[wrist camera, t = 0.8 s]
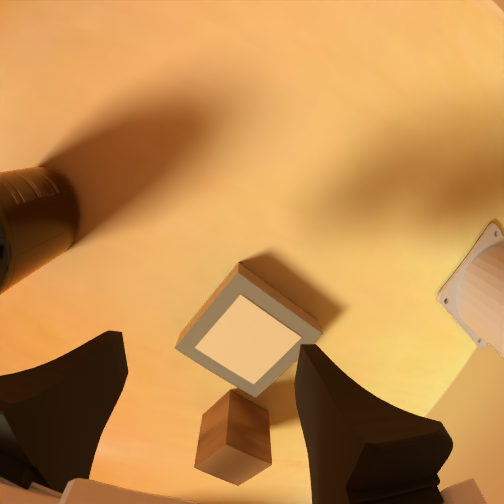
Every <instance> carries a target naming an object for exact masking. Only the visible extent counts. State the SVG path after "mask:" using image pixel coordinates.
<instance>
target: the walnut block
mask: <svg viewBox="0 0 504 504" xmlns="http://www.w3.org/2000/svg"><path fill="white" fill-rule="evenodd" d="M271 465H272V457H271V443H270V429H269V415H268V411H267V410H265V409H264V408H262V407H260V406H258V405H256V404H254V403H253V402H251V401H249V400H247V399H245V398H243V397H242V396H240V395H238V394H236V393H235V392H233V391H231V390H229V391H228V392H227V393H226V394H225V395H224V396H223V397H222V398H221V399H220V400H218V401H217V402H216V403H215V404H214V405H213V406H212V407H211V408H210V409H209V410H208V411H207V412H205V413H204V414H203V415H202V421H201V427H200V434H199V440H198V446H197V453H196V459H195V465H194V468H196V469H198V470H201V471H203V472H205V473H208V474H210V475H212V476H215V477H217V478H220V479H222V480H224V481H227V482H230V483H232V484H235V485H237V486H239V485H240V484H242V483H244V482H245V481H247V480H249V479H250V478H252V477H253V476H255V475H257V474H258V473H260V472H261V471H263V470H264V469H266V468H268V467H269V466H271Z"/></svg>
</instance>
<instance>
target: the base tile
mask: <svg viewBox="0 0 504 504" xmlns="http://www.w3.org/2000/svg"><path fill="white" fill-rule="evenodd" d="M321 335H322V331H321V329H320V326H319V324H318V321H317V320H316V319H315V318H314V317H312V316H311V315H310V314H308V313H307V312H305V311H304V310H303V309H301V308H300V307H299V306H297V305H296V304H295V303H293V302H292V301H291V300H289V299H288V298H286V297H285V296H284V295H282V294H281V293H280V292H278V291H277V290H276V289H274V288H273V287H272V286H270V285H269V284H268V283H266V282H265V281H263V280H262V279H261V278H259V277H258V276H257V275H255V274H254V273H253V272H251V271H250V270H249V269H247V268H246V267H245V266H243V265H242V264H241V263H239V262H238V264H237V265H236V266H235V267H234V268H233V270H232V271H231V272H230V273H229V275H228V276H227V277H226V278H225V279H224V281H223V282H222V283H221V284H220V286H219V287H218V288H217V289H216V290H215V292H214V293H213V294H212V295H211V297H210V298H209V299H208V300H207V301H206V303H205V304H204V305H203V306H202V308H201V309H200V310H199V311H198V312H197V314H196V315H195V316H194V317H193V319H192V320H191V321H190V322H189V323H188V325H187V326H186V327H185V328H184V330H183V331H182V332H181V333H180V335H179V338H178V341H177V344H176V346H175V349H177V350H178V351H180V352H181V353H183V354H184V355H186V356H187V357H189V358H190V359H192V360H193V361H195V362H197V363H198V364H200V365H201V366H203V367H204V368H206V369H208V370H209V371H211V372H213V373H214V374H216V375H217V376H219V377H221V378H222V379H224V380H226V381H227V382H229V383H231V384H233V385H234V386H236V387H238V388H239V389H241V390H243V391H245V392H246V393H248V394H250V395H252V396H253V397H255V398H256V397H257V396H258V395H260V394H261V393H262V392H263V391H264V390H265V389H266V388H267V387H268V386H269V385H271V384H272V383H273V382H274V381H275V380H276V379H277V378H278V377H279V376H280V375H281V374H282V373H283V372H284V371H286V370H287V369H288V368H289V367H290V366H291V365H292V364H293V363H294V362H295V361H296V360H297V359H298V358H299V352H300V345H301V344H313V343H314V342H315V341H316V340H317V339H318V338H319V337H320V336H321Z"/></svg>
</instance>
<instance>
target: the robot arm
mask: <svg viewBox="0 0 504 504" xmlns="http://www.w3.org/2000/svg"><path fill="white" fill-rule="evenodd" d="M495 231H496V233H495ZM494 234H495V235H494ZM446 298H447V300H446V301H445V302H444V300H445V299H446ZM437 301H438V302H439V303H440V304H441V305H442V306H443V307H444V308H445V309H446V310H447V312H448V313H449V314H450V315H451V316H452V317H453V318H454V319H455V320H456V322H457V323H458V324H459V325H460V326H461V327H462V328H463V330H464V331H465V332H466V333H467V334H468V335H469V336H470V338H471V339H472V340H473V341H474V342H475V344H476V345H477V346H478V347H479V348H480V349H484V348H485V347H486V346H487V344H489V345H490V346H491V347H492V348H493V349H494V350H495V351H496V352H497V353H498V354H500V355H501V356H502V357H503V358H504V236H503V234H502V233H501V231H500V229H499V228H498V226H497V225H496V224H495V223H490V224H489V225H488V227H487V228H486V230H485V231H484V233H483V234H482V236H481V237H480V239H479V240H478V241H477V243H476V244H475V246H474V247H473V248H472V250H471V251H470V253H469V254H468V255H467V257H466V258H465V259H464V261H463V262H462V263H461V265H460V266H459V267H458V269H457V270H456V271H455V273H454V274H453V275H452V276H451V278H450V279H449V280H448V281H447V283H446V284H445V285H444V286H443V288H442V289H441V290H440V291H439V293H438V294H437ZM127 375H128V367H127V361H126V355H125V349H124V342H123V336H122V332H117V331H107V332H104V333H102V334H101V335H99V336H97V337H95V338H94V339H92V340H90V341H88V342H87V343H85V344H83V345H81V346H80V347H78V348H76V349H74V350H72V351H70V352H69V353H67V354H65V355H63V356H61V357H59V358H57V359H55V360H52V361H50V362H48V363H45V364H43V365H40V366H37V367H35V368H31V369H28V370H24V371H21V372H17V373H13V374H8V375H2V376H0V504H199V503H197V502H193V501H188V500H184V499H180V498H175V497H168V496H162V495H156V494H150V493H145V492H140V491H135V490H130V489H126V488H121V487H117V486H113V485H109V484H105V483H102V482H98V481H94V480H89V475H90V470H91V467H92V463H93V459H94V455H95V452H96V449H97V446H98V443H99V439H100V436H101V434H102V432H103V429H104V427H105V425H106V423H107V421H108V419H109V417H110V415H111V413H112V411H113V409H114V407H115V405H116V403H117V401H118V399H119V397H120V395H121V393H122V390H123V387H124V384H125V381H126V378H127ZM294 385H295V396H296V405H297V409H298V414H299V418H300V422H301V426H302V430H303V434H304V438H305V442H306V447H307V452H308V459H309V468H310V478H311V490H312V504H487V502H486V501H485V499H484V497H483V495H482V493H481V491H480V490H479V488H478V486H477V484H476V482H475V481H474V479H468V480H466V481H463V482H460V483H458V484H455V485H452V486H450V487H447V488H445V489H444V490H443V491H441V492H439V489H438V487H437V485H439V483H440V479H439V477H438V475H437V473H438V471H439V470H440V469H441V467H442V466H443V464H444V463H445V461H446V460H447V459H448V457H449V455H450V453H451V451H452V448H453V442H452V439H451V437H450V436H449V434H448V432H447V431H446V429H445V427H444V426H443V424H442V423H441V422H439V421H435V420H432V419H428V418H424V417H421V416H417V415H415V414H412V413H409V412H407V411H404V410H402V409H399V408H397V407H395V406H393V405H391V404H389V403H387V402H385V401H383V400H381V399H380V398H378V397H376V396H375V395H373V394H372V393H370V392H369V391H367V390H365V389H364V388H363V387H361V386H360V385H359V384H357V383H356V382H355V381H354V380H352V379H351V378H350V377H349V376H347V375H346V374H345V373H344V372H343V371H342V370H341V369H340V368H339V367H338V366H337V365H336V364H334V363H333V362H332V361H331V360H330V358H329V357H328V356H327V355H326V354H325V353H324V352H323V351H322V350H321V349H320V348H319V347H318V346H317V345H316V344H301V345H300V352H299V358H298V365H297V371H296V377H295V383H294Z"/></svg>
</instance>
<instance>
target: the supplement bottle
mask: <svg viewBox="0 0 504 504" xmlns="http://www.w3.org/2000/svg"><path fill="white" fill-rule="evenodd" d="M78 225H79V206H78V201H77V198H76V195H75V192H74V190H73V188H72V186H71V185H70V183H69V182H68V180H67V179H66V178H65V177H64V176H63V175H62V174H60V173H59V172H58V171H56V170H54V169H51V168H48V167H34V168H26V169H19V170H13V171H7V172H1V173H0V294H2V293H3V292H5V291H6V290H8V289H9V288H11V287H12V286H13V285H15V284H16V283H18V282H19V281H21V280H22V279H24V278H25V277H27V276H28V275H30V274H31V273H33V272H35V271H36V270H38V269H39V268H41V267H42V266H44V265H45V264H47V263H49V262H50V261H52V260H53V259H55V258H56V257H58V256H59V255H61V254H62V253H64V252H65V251H66V250H67V249H68V248H69V247H70V245H71V244H72V242H73V240H74V238H75V236H76V233H77V230H78Z"/></svg>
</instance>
